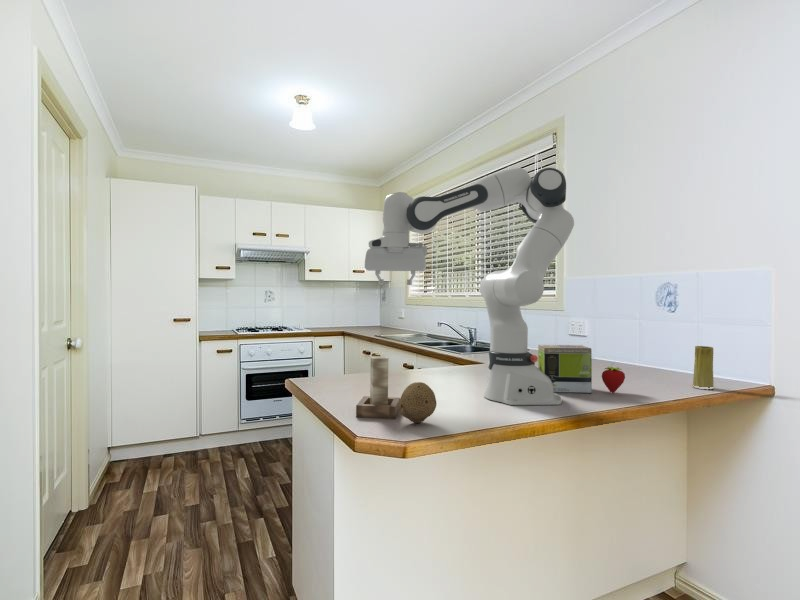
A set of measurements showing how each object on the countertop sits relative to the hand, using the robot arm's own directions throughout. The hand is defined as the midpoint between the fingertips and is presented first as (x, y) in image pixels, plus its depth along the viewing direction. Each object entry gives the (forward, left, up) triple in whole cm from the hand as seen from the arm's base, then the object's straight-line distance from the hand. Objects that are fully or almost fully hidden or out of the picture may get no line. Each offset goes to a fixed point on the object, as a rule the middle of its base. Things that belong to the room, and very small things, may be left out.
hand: (395, 284), depth 148 cm
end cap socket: (0, +31, -34) cm, 46 cm away
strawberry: (-71, -5, -34) cm, 79 cm away
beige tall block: (0, +31, -34) cm, 46 cm away
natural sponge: (-11, +39, -34) cm, 53 cm away
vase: (-105, -18, -34) cm, 112 cm away
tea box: (-56, -7, -34) cm, 66 cm away
